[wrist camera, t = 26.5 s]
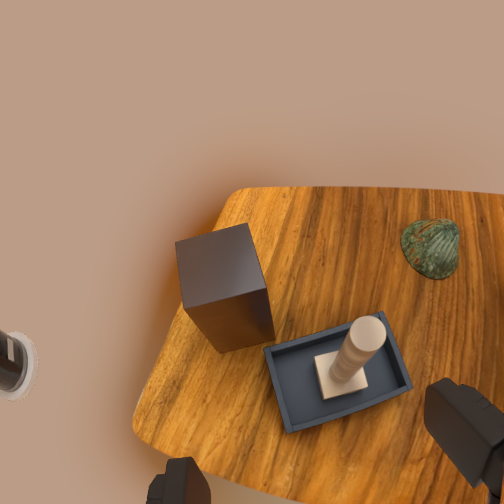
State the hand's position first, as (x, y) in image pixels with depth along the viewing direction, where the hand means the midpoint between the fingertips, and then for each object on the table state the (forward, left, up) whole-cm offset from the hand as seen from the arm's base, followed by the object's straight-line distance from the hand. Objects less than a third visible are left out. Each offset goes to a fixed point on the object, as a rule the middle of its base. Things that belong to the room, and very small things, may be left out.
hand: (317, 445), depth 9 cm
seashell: (+26, +18, -26) cm, 41 cm away
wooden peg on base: (+6, +6, -26) cm, 27 cm away
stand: (-3, +16, -26) cm, 31 cm away
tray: (+6, +6, -26) cm, 27 cm away
